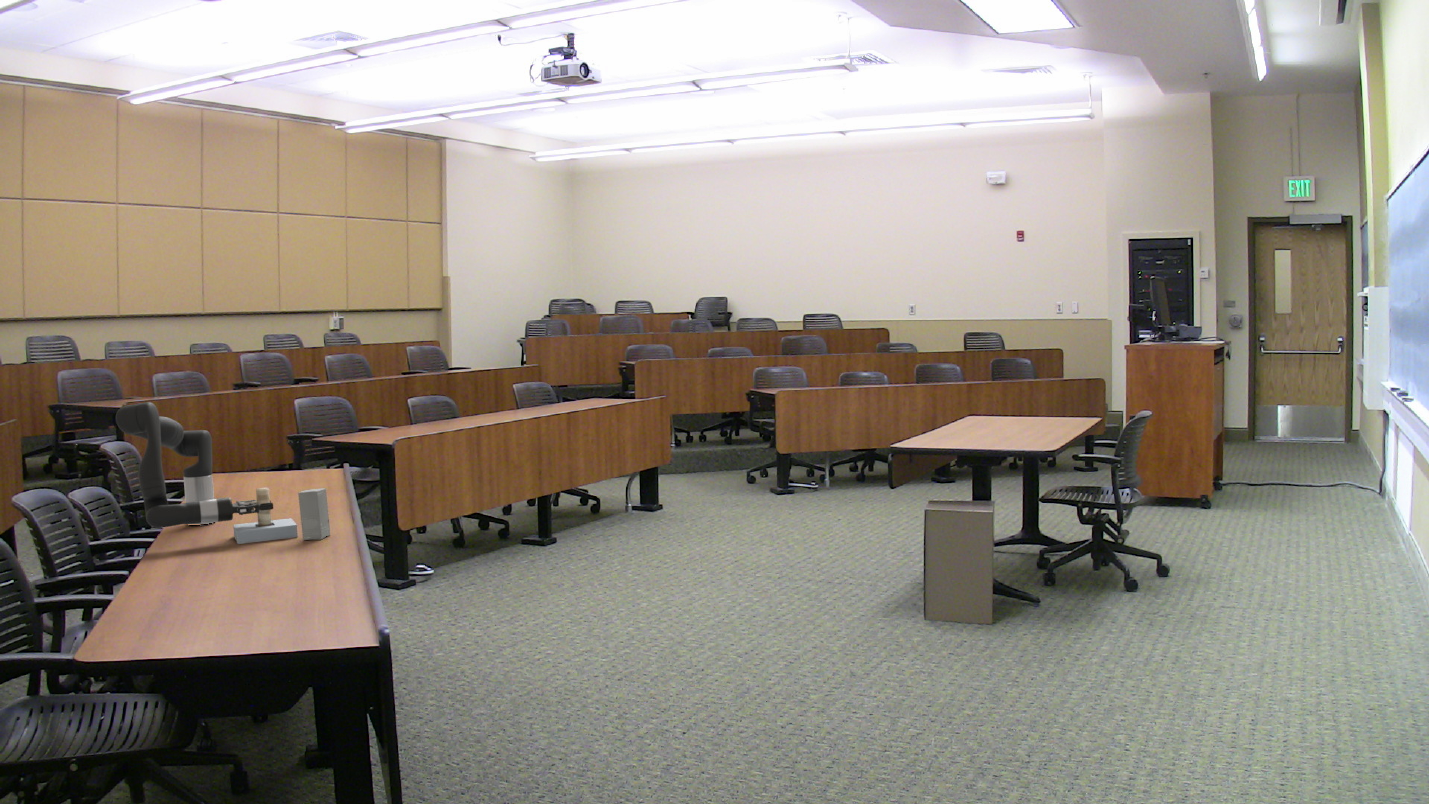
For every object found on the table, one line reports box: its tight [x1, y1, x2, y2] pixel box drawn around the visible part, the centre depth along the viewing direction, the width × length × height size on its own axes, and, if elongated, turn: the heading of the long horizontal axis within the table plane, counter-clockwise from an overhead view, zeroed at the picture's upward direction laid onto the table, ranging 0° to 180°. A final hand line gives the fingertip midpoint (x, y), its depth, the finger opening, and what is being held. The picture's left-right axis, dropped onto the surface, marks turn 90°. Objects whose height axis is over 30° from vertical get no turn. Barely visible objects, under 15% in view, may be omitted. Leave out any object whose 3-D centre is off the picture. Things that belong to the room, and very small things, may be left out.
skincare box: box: [297, 487, 331, 541], centre depth 350 cm, size 8×7×16 cm
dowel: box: [255, 487, 272, 527], centre depth 354 cm, size 4×4×16 cm
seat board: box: [232, 517, 299, 545], centre depth 355 cm, size 14×18×4 cm
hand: (271, 504), depth 355 cm, fingers open, 5 cm apart
